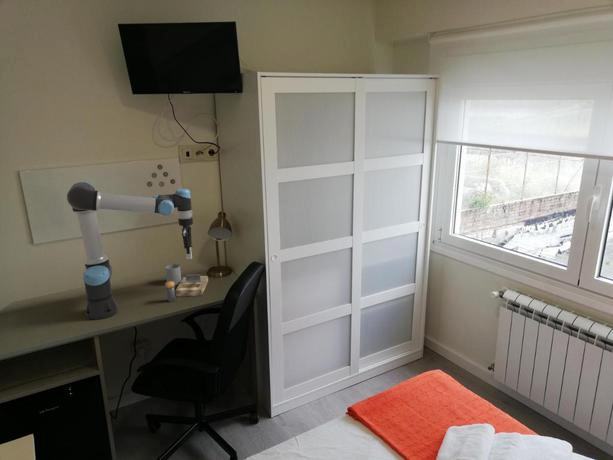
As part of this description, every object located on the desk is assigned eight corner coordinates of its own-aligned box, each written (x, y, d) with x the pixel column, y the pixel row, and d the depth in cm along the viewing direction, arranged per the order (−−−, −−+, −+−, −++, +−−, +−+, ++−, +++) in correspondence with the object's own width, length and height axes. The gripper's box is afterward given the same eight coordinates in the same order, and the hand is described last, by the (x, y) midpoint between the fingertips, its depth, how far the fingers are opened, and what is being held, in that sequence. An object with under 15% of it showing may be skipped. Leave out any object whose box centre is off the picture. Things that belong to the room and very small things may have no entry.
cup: (167, 280, 271) (165, 264, 269) (181, 278, 274) (179, 263, 271) (167, 285, 264) (165, 269, 261) (181, 283, 266) (180, 267, 263)
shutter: (181, 283, 257) (180, 277, 256) (184, 278, 264) (183, 273, 263) (202, 282, 257) (202, 276, 256) (205, 277, 264) (204, 272, 263)
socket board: (176, 296, 249) (175, 290, 248) (184, 282, 268) (183, 276, 267) (201, 295, 249) (201, 289, 248) (208, 281, 268) (207, 276, 267)
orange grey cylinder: (166, 302, 241) (164, 284, 239) (168, 298, 246) (166, 281, 243) (175, 302, 241) (173, 284, 239) (177, 298, 246) (175, 281, 243)
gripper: (189, 220, 241) (193, 262, 247) (194, 214, 254) (198, 254, 260) (175, 220, 241) (179, 262, 247) (181, 214, 253) (185, 255, 260)
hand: (189, 258), depth 253 cm, fingers closed
